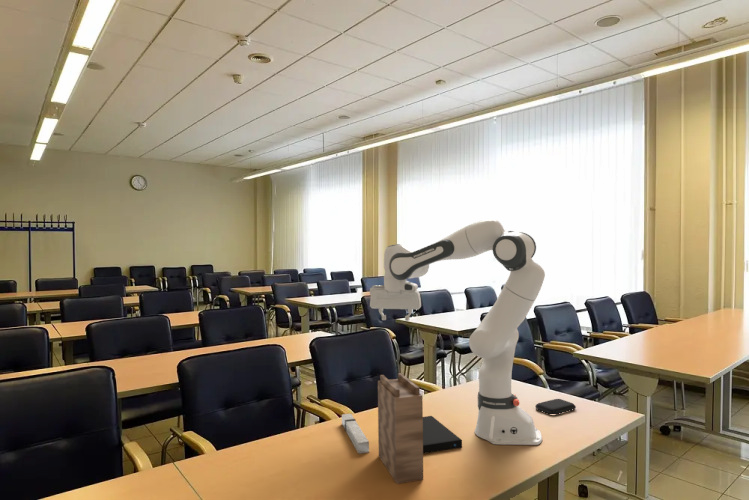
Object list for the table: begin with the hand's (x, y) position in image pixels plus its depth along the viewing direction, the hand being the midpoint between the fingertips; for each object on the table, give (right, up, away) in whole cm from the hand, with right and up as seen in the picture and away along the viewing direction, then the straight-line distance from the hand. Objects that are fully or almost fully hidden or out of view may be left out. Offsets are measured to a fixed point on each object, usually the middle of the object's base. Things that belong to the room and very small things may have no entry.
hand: (395, 320), depth 186 cm
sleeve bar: (-15, -38, -22) cm, 46 cm away
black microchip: (+64, -37, +3) cm, 74 cm away
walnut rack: (-1, -38, -45) cm, 58 cm away
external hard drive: (+10, -38, -23) cm, 45 cm away
